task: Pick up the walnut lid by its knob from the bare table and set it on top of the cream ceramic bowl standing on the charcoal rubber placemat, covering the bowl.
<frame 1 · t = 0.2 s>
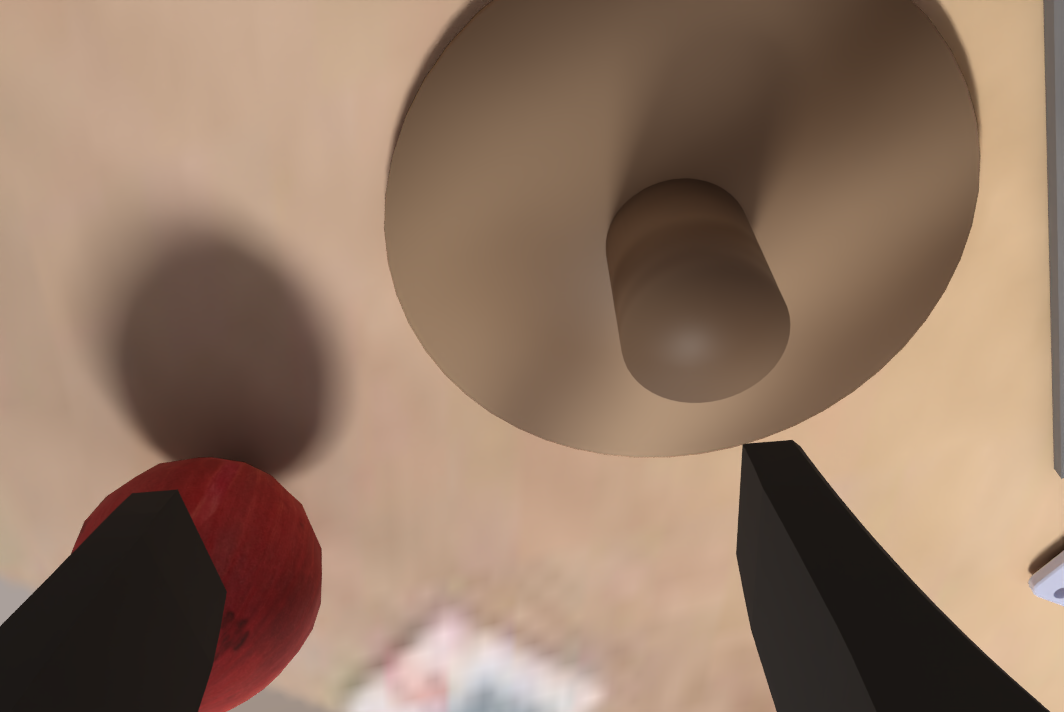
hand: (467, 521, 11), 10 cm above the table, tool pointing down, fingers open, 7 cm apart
lid: (672, 227, 20), on the table
onion: (239, 469, 24), on the table
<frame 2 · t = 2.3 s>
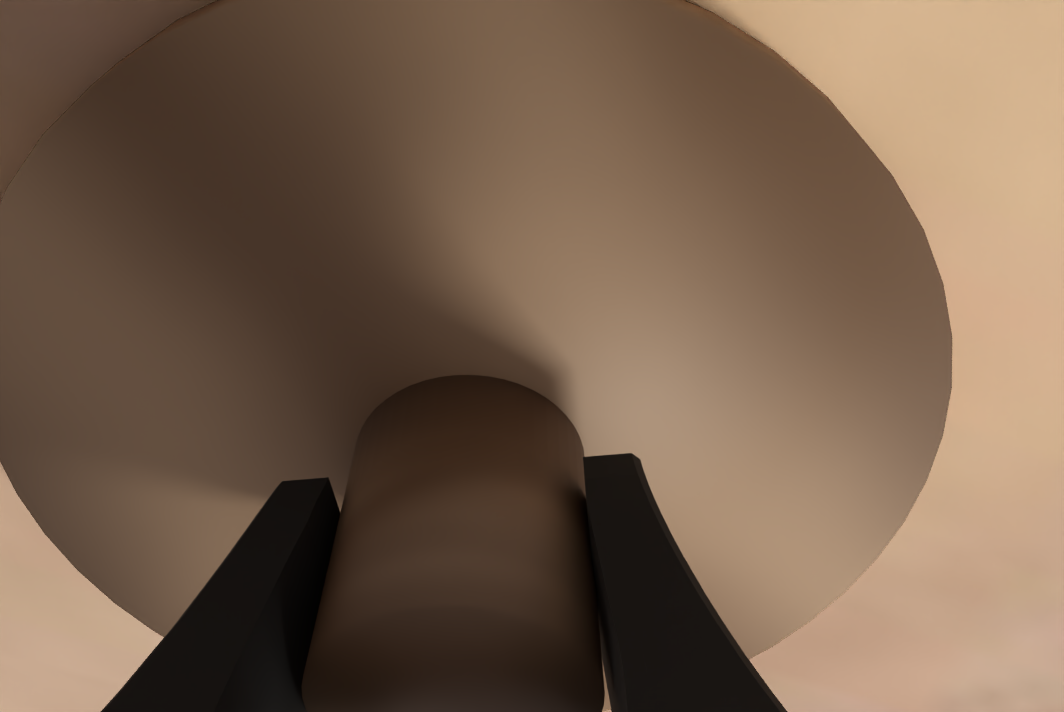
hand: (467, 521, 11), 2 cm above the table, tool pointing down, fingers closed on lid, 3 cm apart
lid: (473, 427, 13), on the table, touching gripper
when the fingers open (8 cm above the table, at t = 5.5 s): lid stays where it is, resting on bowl.
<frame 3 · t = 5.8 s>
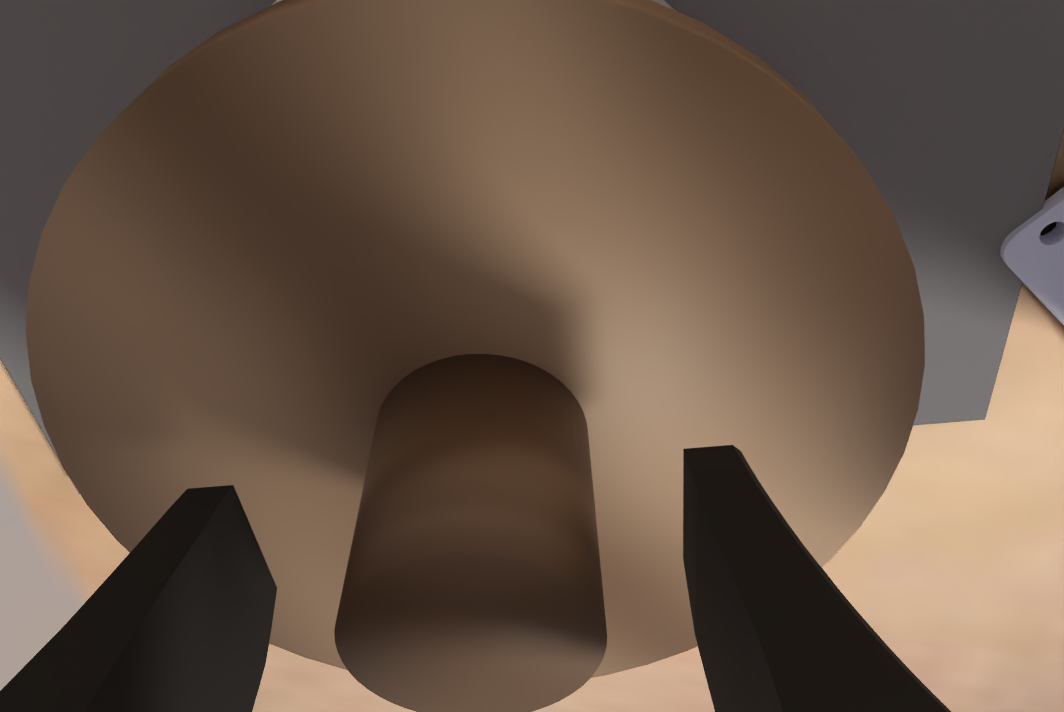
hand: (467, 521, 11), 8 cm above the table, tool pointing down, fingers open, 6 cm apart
lid: (484, 405, 14), point 5 cm above the table, touching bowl
placemat: (472, 136, 17), on the table
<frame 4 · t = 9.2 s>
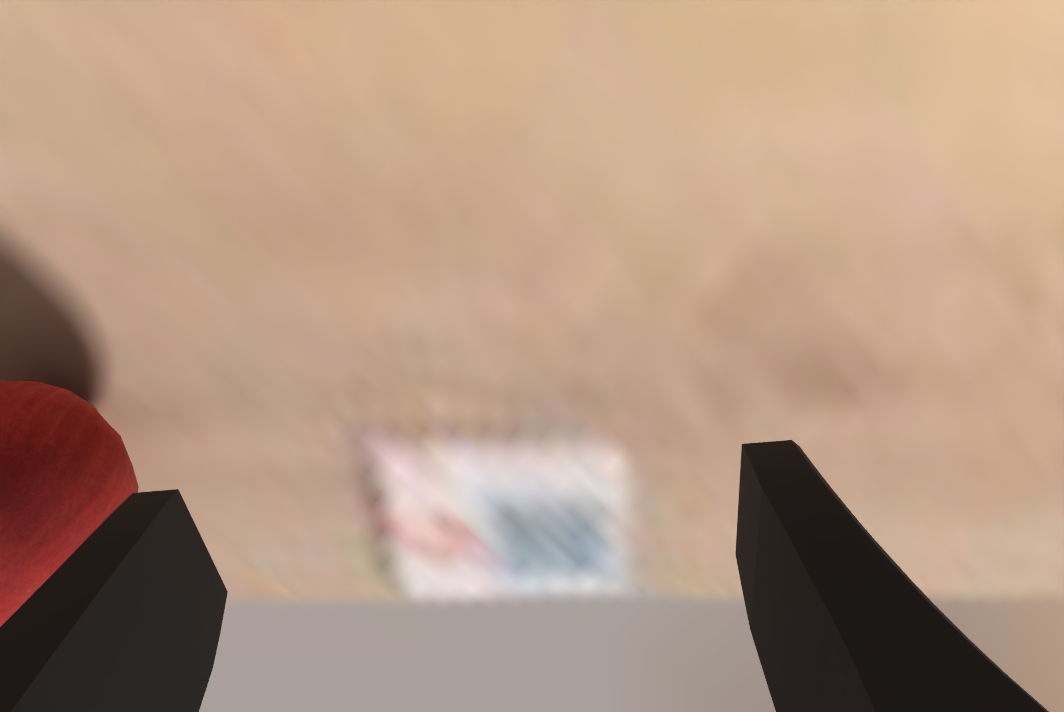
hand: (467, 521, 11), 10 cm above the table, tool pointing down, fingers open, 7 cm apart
onion: (71, 400, 24), on the table
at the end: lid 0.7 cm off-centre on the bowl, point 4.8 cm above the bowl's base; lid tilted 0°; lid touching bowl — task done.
